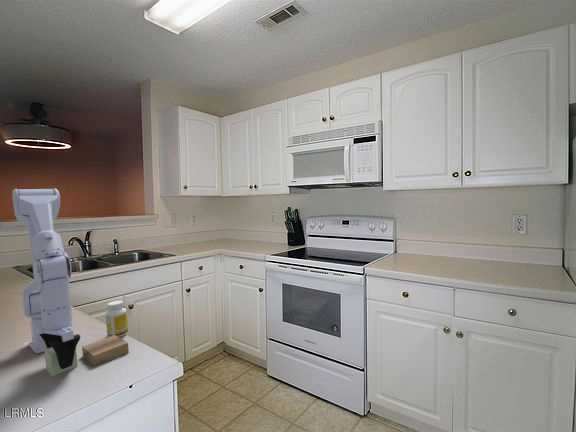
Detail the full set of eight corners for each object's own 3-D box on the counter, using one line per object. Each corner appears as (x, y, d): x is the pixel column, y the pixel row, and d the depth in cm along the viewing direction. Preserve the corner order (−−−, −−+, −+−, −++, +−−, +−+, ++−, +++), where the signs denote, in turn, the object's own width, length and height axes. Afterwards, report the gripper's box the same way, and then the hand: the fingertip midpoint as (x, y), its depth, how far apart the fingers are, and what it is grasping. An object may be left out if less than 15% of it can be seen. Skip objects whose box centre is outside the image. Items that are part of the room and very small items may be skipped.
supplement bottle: (131, 330, 94) (129, 299, 93) (122, 338, 88) (119, 305, 88) (113, 331, 94) (111, 300, 93) (103, 339, 88) (100, 306, 88)
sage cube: (46, 369, 73) (44, 349, 73) (70, 360, 77) (69, 341, 77) (52, 376, 70) (50, 355, 70) (77, 366, 74) (75, 346, 74)
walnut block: (83, 358, 79) (82, 346, 79) (116, 345, 85) (115, 335, 85) (94, 367, 74) (93, 355, 74) (128, 353, 80) (128, 342, 80)
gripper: (27, 306, 74) (32, 360, 75) (43, 318, 65) (49, 380, 66) (62, 298, 80) (66, 348, 80) (82, 308, 71) (86, 365, 71)
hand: (61, 362), depth 73 cm, fingers open, 7 cm apart
